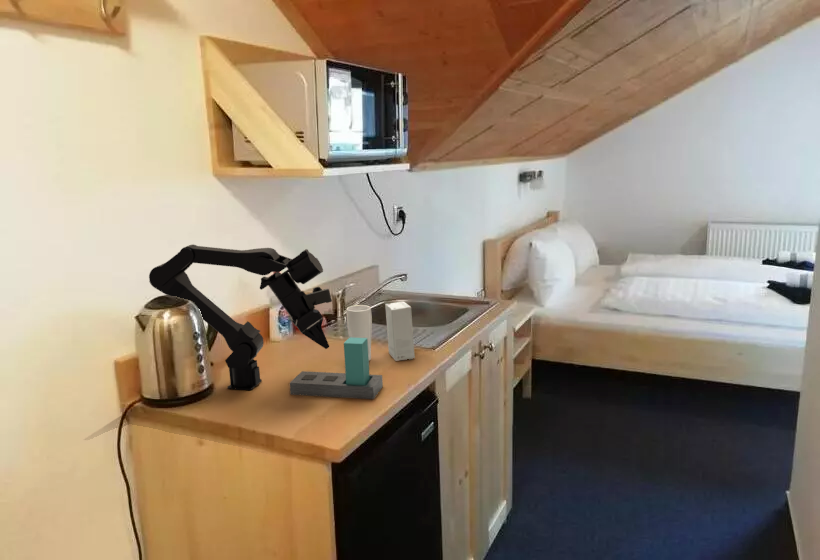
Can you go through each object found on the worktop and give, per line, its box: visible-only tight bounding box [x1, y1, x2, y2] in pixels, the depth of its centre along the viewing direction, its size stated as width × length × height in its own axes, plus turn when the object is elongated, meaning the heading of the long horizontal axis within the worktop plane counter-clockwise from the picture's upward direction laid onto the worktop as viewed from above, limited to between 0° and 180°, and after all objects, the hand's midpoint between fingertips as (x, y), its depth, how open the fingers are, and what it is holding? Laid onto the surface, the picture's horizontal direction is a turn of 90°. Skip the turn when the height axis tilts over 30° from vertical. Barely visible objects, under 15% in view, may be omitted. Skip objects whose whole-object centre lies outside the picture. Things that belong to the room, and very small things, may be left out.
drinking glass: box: [346, 304, 373, 361], centre depth 175 cm, size 7×7×15 cm
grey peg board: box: [289, 370, 384, 400], centre depth 156 cm, size 21×8×3 cm, turn 77°
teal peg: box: [343, 336, 370, 385], centre depth 153 cm, size 4×4×13 cm
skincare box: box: [384, 301, 416, 362], centre depth 178 cm, size 8×6×15 cm
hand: (325, 345), depth 158 cm, fingers open, 9 cm apart
